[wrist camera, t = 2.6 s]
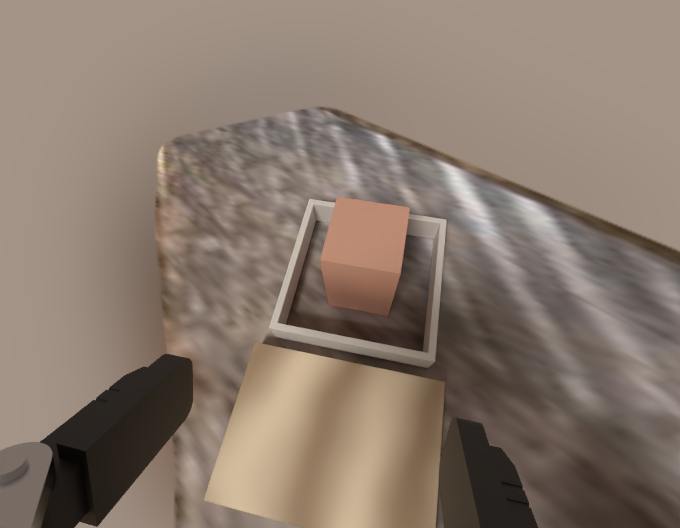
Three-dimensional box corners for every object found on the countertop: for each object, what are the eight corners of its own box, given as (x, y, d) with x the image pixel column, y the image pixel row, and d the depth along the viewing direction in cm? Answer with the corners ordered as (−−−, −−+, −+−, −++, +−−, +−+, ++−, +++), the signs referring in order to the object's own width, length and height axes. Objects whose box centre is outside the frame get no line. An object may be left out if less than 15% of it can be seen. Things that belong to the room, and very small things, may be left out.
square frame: (439, 235, 31) (446, 219, 28) (427, 368, 25) (435, 361, 23) (312, 215, 32) (309, 199, 30) (275, 337, 27) (268, 328, 25)
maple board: (440, 384, 25) (445, 381, 23) (428, 555, 20) (433, 563, 19) (260, 346, 26) (255, 342, 25) (212, 496, 22) (203, 500, 21)
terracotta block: (396, 262, 30) (410, 207, 22) (388, 316, 27) (400, 273, 20) (340, 253, 30) (337, 196, 23) (328, 304, 28) (320, 259, 21)
